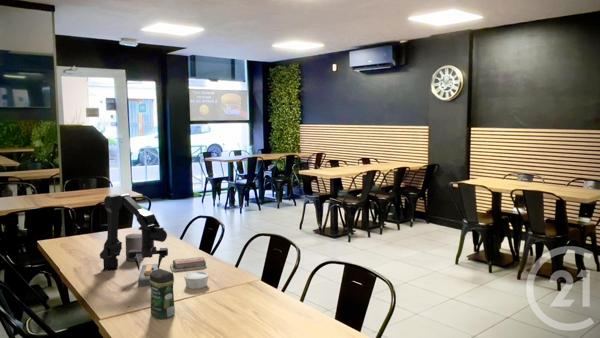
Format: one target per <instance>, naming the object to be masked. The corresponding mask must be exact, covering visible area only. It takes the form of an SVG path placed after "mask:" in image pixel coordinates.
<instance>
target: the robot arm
mask: <svg viewBox="0 0 600 338" xmlns="http://www.w3.org/2000/svg"><path fill="white" fill-rule="evenodd" d="M103 202H104V209H105V210H106V211H107V239H105V240H106V241H105V242H104V243H103V248H102V249H103V250H102V251H101V252H100V253H99V257H100V259H102V260H103V263H102V264H103V268H102V271H113V270H117V269H118V267H119V258H118V257H119V256H120V255H121V252H122V250H123V248H122V246H123V245H122V244H123V242H122V241H120V240H119V238H118V237H119V235H118V234H119V211H120V210H121V208H122V206H123V205H124V206H125V208H127V209H128V211H130V212H131V214H133V215H134V216H135V217H136V218H135V219H136V222H137V223H138V224H139V225H140V227H138V230H139V231H141V234H142V248H141V251H137V249H136V250H129V252H128V258H131V260H134V261H135V262H134V263H135V265H136V267H137V271H141V265H140V261H139V258H138V255H142V258H144V259H145V258H149V259H151V258H152V257H153V255H158V263H157V264H158V269H160V266H161V262H162V260H163V258H166V257H167V256H169V248H167V247H159V249H157V246H155V241H156V242H160V243H164V242H165V241H166V240H167V238H168V233H167V231H166V230H165V228H164V227H163V226H162V227H161V225H160V223H159V221H158V219H157V218H156V215H155V214H154V213H153V212H151V211H150V210H146V209H144V208H143V207H142V206H141V205H140V204H139V203H137V202H136V201H135V200H134V199H133V198H132V197H131V195H130V194H129V193H124V194H123V193H122V194H117V193H116V194H112V195H111V194H110V195H107V196H106V197H104V201H103Z"/></svg>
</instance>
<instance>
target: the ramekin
mask: <svg viewBox="0 0 600 338" xmlns="http://www.w3.org/2000/svg"><path fill="white" fill-rule="evenodd" d="M183 278H184V282H185V286H186V287H187V288H188V289H191V290H199V289H203V288H205V287H206V286H207V285H208V279H209V273H208V272H205V271H191V272H188V273H186V274H185V275H184V277H183Z"/></svg>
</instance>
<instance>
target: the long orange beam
mask: <svg viewBox="0 0 600 338" xmlns="http://www.w3.org/2000/svg"><path fill="white" fill-rule="evenodd" d="M146 265H147V264H146ZM151 271H152V265H147V266H146V270H145V275H150V273H151Z"/></svg>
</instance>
